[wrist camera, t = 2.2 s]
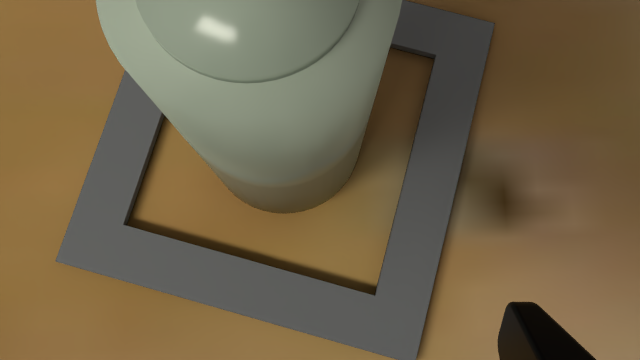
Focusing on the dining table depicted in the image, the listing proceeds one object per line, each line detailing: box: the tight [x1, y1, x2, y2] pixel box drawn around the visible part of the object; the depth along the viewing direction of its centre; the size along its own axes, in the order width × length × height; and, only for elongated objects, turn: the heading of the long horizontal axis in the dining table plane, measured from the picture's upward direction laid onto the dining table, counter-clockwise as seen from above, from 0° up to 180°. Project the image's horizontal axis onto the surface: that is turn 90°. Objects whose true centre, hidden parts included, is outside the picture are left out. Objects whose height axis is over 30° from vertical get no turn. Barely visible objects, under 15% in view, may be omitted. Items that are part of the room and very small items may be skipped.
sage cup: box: [96, 0, 402, 214], centre depth 17 cm, size 6×6×12 cm
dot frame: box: [56, 0, 495, 360], centre depth 23 cm, size 14×14×1 cm
